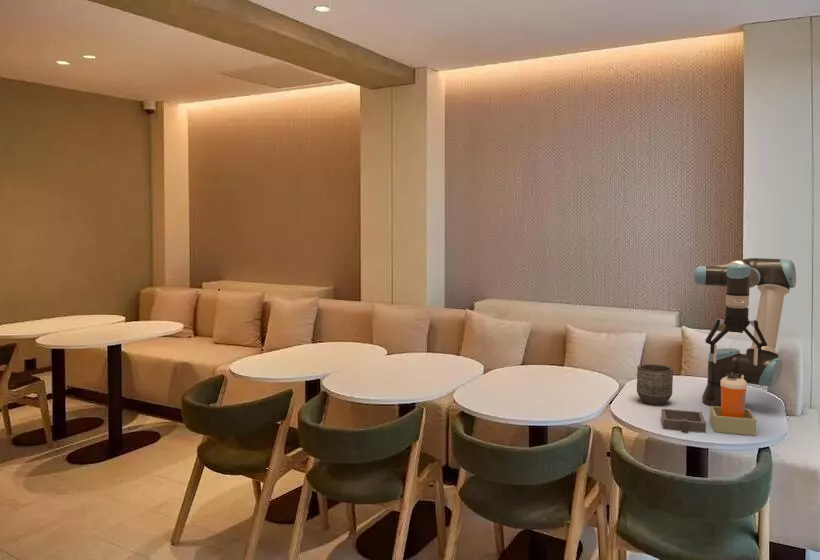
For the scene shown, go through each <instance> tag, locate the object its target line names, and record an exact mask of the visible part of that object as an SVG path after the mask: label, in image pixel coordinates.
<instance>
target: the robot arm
mask: <svg viewBox="0 0 820 560" xmlns="http://www.w3.org/2000/svg"><path fill="white" fill-rule="evenodd" d="M693 278H694V282H695V284H696V285H699V286H704V287H705V286H712V287H713V286H714V287H725V288H726V289H725V290H726V291H725V292H726V293H725V294H726V295H725V296H726V297H725V305H726V307H725V313H724V314H725V315H724V316H725V317H724V319H720V318H716V319H715V321H714V325H713V327H711V328H712V329H711V330H710V332H709V333H708V335H707V336H706V338H705V339H704V342H705V343H706V344H708V345H710V348H709V349H710V350H709V353H708V360H707V383H706V386H705V389H704V391H703V394H702V398H701V401H702V403H703V404H705V405H707V406H709V407H710V406H717V407H721V386H720V381H721V379H722V378H724V377H727V376H726V375H727V374H731V373H737V374H742V375H744V380H745V381H746V382H747V384H751V385H757V386H761V387H773V386H775V385H776V384H777V383H778V382H779V380H780V376H781V374H782V372H783V371H782V370H783V368H782V367H783V361H782V359H781V358H780V357H779V353H778V352H777V351H776V349H777V342H778V335H779V330H780V325H781V324H780V322H781V317H782V312H783V304H784V299H785V296H786V295H787V294H789V293H790V289H792V288H795V287H796V284H797V272H796V267H795V264H794V262H793V260H791V259H784V258H763V257H762V258H761V257H758V258H757V257H750V258H743V259H742V258H741V259H736V260H733V261H730V262H729V263H726V264H717V265H708V266H707V265H698V266H696V267H695V269H694V275H693ZM756 286H757V289H758V291H759V292H760V296H759V301H758V308H757V312H756V313H757V314H756V319H753V320H750V319H749V312H750V311H749V309H750V308H749V306H750V289H751V288H753V287H756ZM723 324H724V325H725V326H724V327H723V329H722V330H721V331H720V332H719V333H718V334H717V335H716V336H715V334H716V333H717V331H718V330H719V327H720V326H722V325H723ZM749 325H751V327H753V328H754V331H753V334H752V333H751V332H750V331H749V329H748V327H749ZM729 332H732V333H742V332H744V333H745V334H746V335H747V336H748V337H749V338H750V340H751V341H752V342H751V346H749V347H748V348H746V353H741V351H740V349H738V348H731V347H729V348H718V346H717V343H718V342H719V341H720V340H721V339H723V337H724V336H725V335H727V334H728V333H729ZM714 336H715V337H714ZM713 337H714V338H713Z"/></svg>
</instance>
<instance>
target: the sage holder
mask: <svg viewBox="0 0 820 560" xmlns="http://www.w3.org/2000/svg"><path fill="white" fill-rule="evenodd" d="M709 423H710V426H711V428H712V431H713V433H717V434H720V433H721V434H728V435H738V436H740V435H741V436H749V437H751V436H752V437H756V435H757V418H756V417H755V416H754V414H753V413H752V411H751V409H750V408H744V416H743V418H736V417H724V416H721V407H717V406H710V405H709Z"/></svg>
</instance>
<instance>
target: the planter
mask: <svg viewBox="0 0 820 560" xmlns="http://www.w3.org/2000/svg"><path fill="white" fill-rule="evenodd" d="M636 368H637V371H636V375H637V376H636V394H637V395H638V397H639V399H640V401H641V402H642V403H644V404H646V405H652V406H664V405H666V404H667V403H668V402H669V401H670V399H671V397H672V396H673V381H674V379H673V378H674V368H673V367H671V366H669V365H664V364H655V363H654V364H653V363H643V364H639V365H637V367H636Z"/></svg>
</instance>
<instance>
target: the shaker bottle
mask: <svg viewBox="0 0 820 560" xmlns="http://www.w3.org/2000/svg"><path fill="white" fill-rule="evenodd" d="M726 376H727V377H724V378H722V379H721V381H720V386H721V416H724V417H736V418H743V416H744V409H745V406H746V405H745V404H746V397H747V396H746V393H747V389H748V383H747V382H746V381H745V380H744V375H742V374H737V373H731V374H727V375H726Z"/></svg>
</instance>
